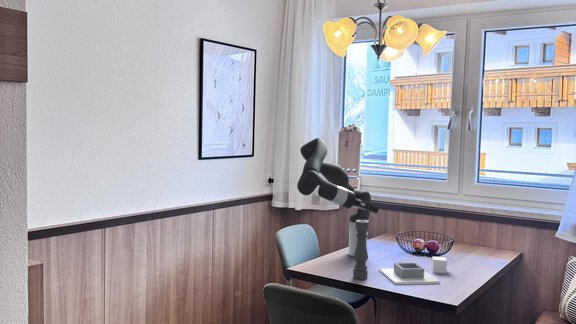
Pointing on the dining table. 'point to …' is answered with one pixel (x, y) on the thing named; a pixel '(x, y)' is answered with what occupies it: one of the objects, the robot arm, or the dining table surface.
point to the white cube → (439, 264)
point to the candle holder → (361, 250)
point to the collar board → (408, 274)
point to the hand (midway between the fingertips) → (371, 209)
